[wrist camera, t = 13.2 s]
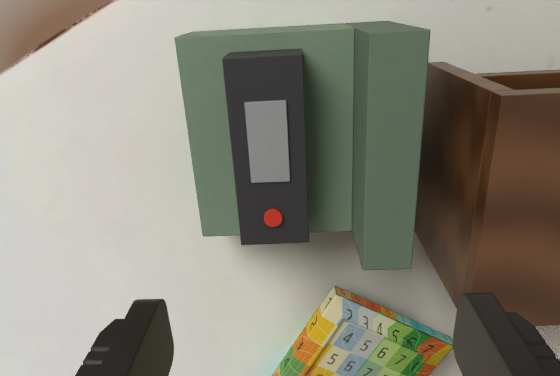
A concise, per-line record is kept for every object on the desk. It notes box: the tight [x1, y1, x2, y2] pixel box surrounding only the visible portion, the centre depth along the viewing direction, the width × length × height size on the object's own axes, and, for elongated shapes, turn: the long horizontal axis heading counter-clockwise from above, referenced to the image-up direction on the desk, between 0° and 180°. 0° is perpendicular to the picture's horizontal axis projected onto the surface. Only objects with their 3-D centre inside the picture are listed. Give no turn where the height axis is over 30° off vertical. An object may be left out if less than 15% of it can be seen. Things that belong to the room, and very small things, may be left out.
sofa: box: [175, 21, 430, 270], centre depth 29 cm, size 14×14×10 cm
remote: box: [222, 48, 309, 245], centre depth 27 cm, size 12×4×3 cm, turn 3°
